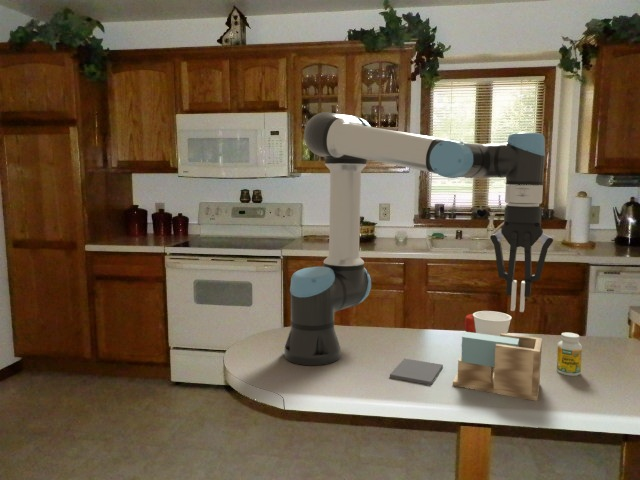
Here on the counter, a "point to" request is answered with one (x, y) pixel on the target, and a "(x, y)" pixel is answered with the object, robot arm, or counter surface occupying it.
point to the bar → (483, 347)
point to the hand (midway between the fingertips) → (517, 309)
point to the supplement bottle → (569, 355)
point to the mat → (416, 371)
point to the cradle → (506, 370)
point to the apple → (470, 323)
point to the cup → (491, 322)
